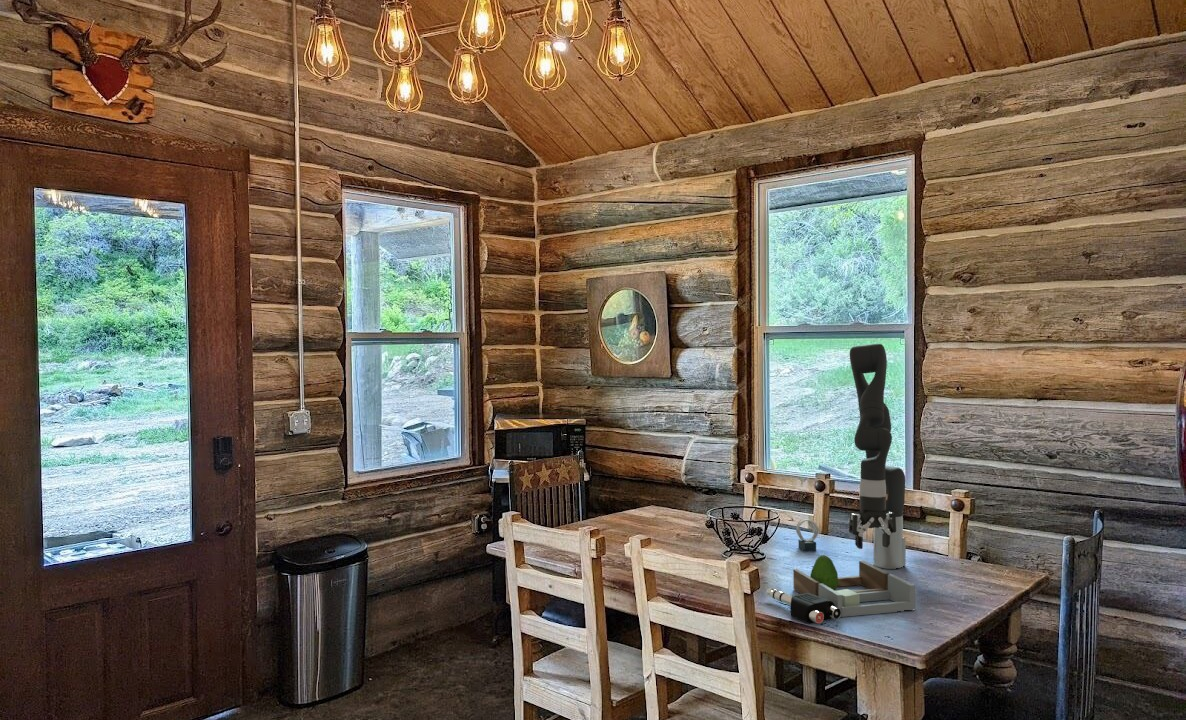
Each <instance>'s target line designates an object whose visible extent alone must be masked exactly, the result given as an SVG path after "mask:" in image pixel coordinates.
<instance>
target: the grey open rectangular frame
mask: <svg viewBox="0 0 1186 720" xmlns="http://www.w3.org/2000/svg"><path fill="white" fill-rule="evenodd" d="M818 586H819V597H821V598H824V599H827V600H829V601H832V602H833V603H834V605H835V607H837V608H839V609H840V610H841V616H840V618H844V617H854V616H855V617H856V616H867V615H868V616H869V615H876V614H887V613H897V611H901V612H905V611H904V610H912V611H914V610H913V609H915V610H916V584H914V583H912V582H910V581H908V580H905V579H904V578H901V577H899V576H897V575H896V574H894V573H893V574H892V573H890V574H889V575H888V590H885V591H873V592H862V593H858V594H860V603H865V602H876V601H887V600H890V601H892V602H883V603H881V602H880V603H870V604H860V605H857V606H846V607H842V595H841V594H839V593H838V592H836V591H837V590H835V591H834V590H833V589H831V588H829V587H828V586H826V585H824V584H823V583H820V584H818Z"/></svg>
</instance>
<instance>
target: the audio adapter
mask: <svg viewBox="0 0 1186 720" xmlns="http://www.w3.org/2000/svg"><path fill="white" fill-rule="evenodd" d="M765 594H766V595H767V597H768V598H772V599H773V600H775V601H778V602H780V603H783V604H785V605H788V606H789V607H790V616H791V617H793V618H795V619H798V620H800V621H803V622H805V623H807V624H809V625H812V624H821V623H823V622H824V621H828V620H829V621H830V620H832V619H834V620H838V619H840V618H841V617H840V616H841V610H840V609H839V608H837V607H835V605H834V603H833V602H832V601H829V600H827V599H824V598H821V597H819V596H816V595H813V594H810V593H805V594H800V593H799V594H795V595H791V594H788V593H786V592H784V591H781V590H778V589H774V588H773V587H768V588H767V589H766V590H765Z"/></svg>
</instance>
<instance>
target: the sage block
mask: <svg viewBox="0 0 1186 720" xmlns="http://www.w3.org/2000/svg"><path fill="white" fill-rule="evenodd" d="M835 591H836V592H838V593H839V594H841V595H842V607H846V606H857V605H861V604H860V603H861V602H860V594H858V593H856V592H854V590H851V589H849V588H846V589H845V588H844V589H839V590H835Z"/></svg>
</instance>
